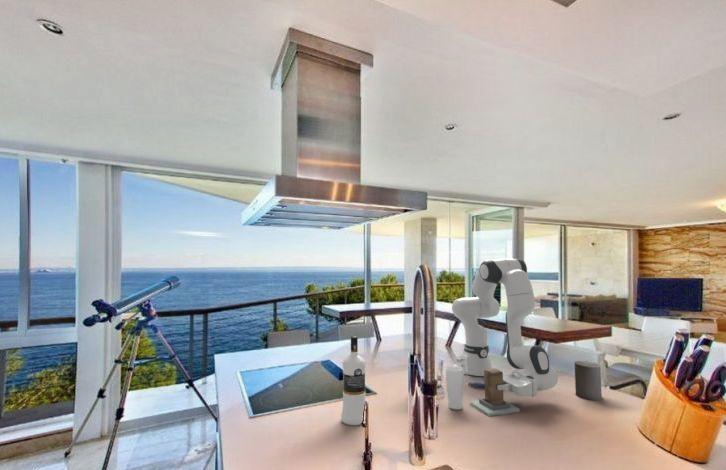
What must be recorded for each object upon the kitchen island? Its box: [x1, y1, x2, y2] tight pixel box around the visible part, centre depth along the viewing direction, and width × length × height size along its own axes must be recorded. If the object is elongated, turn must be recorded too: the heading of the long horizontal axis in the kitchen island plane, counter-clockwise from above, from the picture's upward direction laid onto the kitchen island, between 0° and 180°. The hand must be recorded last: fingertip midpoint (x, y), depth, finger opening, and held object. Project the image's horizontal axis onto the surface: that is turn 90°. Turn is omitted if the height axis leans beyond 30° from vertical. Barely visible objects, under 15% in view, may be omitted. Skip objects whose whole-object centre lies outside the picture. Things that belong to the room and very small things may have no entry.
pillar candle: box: [574, 360, 603, 401], centre depth 156 cm, size 10×10×15 cm
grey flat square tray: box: [469, 397, 521, 417], centre depth 143 cm, size 12×14×2 cm
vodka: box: [340, 335, 366, 427], centre depth 132 cm, size 9×9×30 cm
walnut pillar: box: [483, 367, 505, 405], centre depth 144 cm, size 5×5×12 cm
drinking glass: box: [445, 365, 465, 411], centre depth 144 cm, size 7×7×15 cm
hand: (491, 384), depth 143 cm, fingers closed on walnut pillar, 5 cm apart
